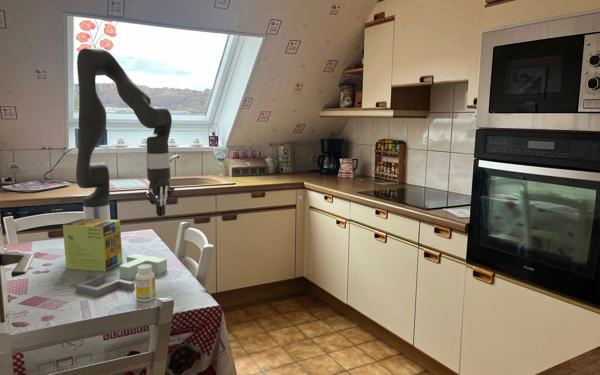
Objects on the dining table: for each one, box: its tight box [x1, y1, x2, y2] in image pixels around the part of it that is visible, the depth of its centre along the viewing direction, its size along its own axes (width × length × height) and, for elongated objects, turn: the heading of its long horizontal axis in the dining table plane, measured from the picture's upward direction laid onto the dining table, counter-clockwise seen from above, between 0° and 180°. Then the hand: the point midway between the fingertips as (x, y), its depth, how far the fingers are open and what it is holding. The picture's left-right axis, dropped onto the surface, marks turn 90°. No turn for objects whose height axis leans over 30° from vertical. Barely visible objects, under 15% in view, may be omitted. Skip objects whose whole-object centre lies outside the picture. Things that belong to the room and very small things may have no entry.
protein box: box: [62, 217, 124, 272], centre depth 167 cm, size 10×15×16 cm
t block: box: [118, 253, 168, 281], centre depth 161 cm, size 12×14×4 cm
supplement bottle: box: [134, 264, 157, 303], centre depth 139 cm, size 5×5×10 cm
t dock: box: [75, 272, 136, 298], centre depth 147 cm, size 19×10×2 cm, turn 63°
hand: (161, 215), depth 169 cm, fingers closed
